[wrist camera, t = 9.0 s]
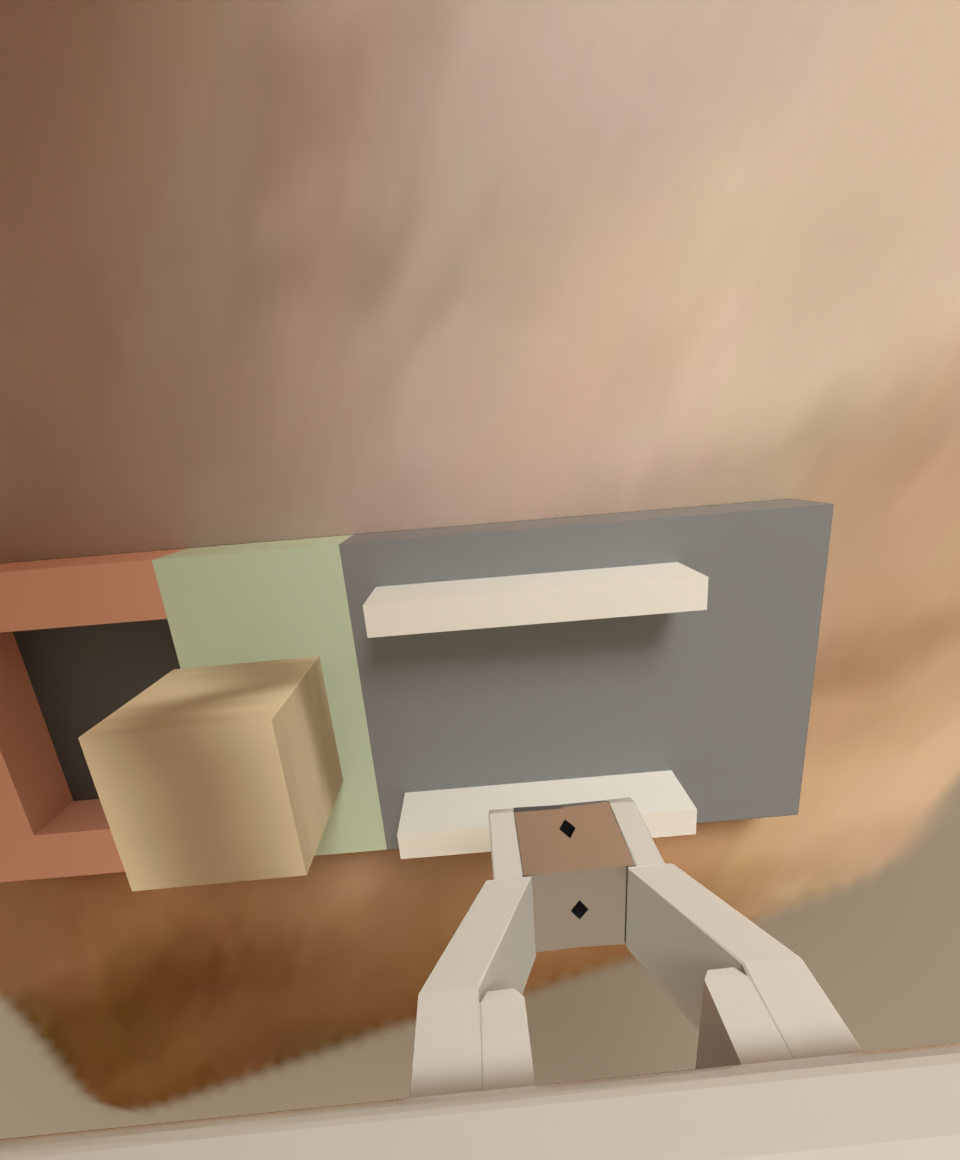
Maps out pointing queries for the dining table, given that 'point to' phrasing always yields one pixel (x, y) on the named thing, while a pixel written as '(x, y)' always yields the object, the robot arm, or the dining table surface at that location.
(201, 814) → the birch block
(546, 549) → the board
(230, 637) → the pad
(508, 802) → the channel walls
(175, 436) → the dining table surface
